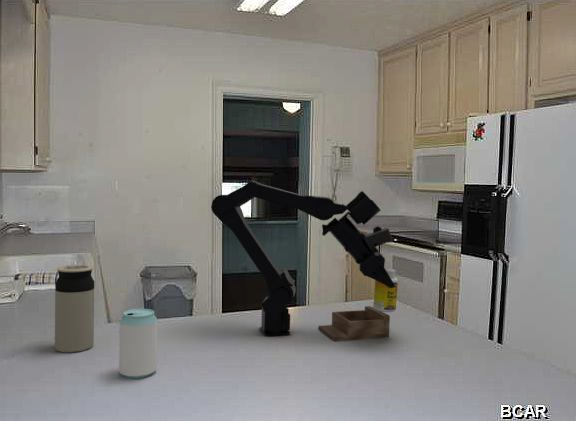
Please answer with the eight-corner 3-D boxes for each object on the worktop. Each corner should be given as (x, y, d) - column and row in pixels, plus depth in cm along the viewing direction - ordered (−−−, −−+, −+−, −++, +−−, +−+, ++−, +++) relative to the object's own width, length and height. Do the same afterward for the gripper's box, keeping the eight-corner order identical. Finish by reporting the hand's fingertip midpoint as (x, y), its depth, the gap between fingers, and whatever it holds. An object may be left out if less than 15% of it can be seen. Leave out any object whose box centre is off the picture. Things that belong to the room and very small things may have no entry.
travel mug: (101, 345, 113) (102, 266, 112) (72, 355, 105) (73, 271, 105) (75, 340, 116) (76, 263, 115) (46, 349, 109) (47, 268, 108)
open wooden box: (334, 341, 120) (335, 318, 120) (318, 329, 130) (319, 308, 130) (389, 337, 125) (389, 315, 125) (369, 326, 135) (370, 306, 135)
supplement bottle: (386, 314, 120) (389, 272, 119) (368, 309, 124) (371, 268, 124) (400, 311, 124) (403, 270, 123) (382, 306, 128) (385, 267, 127)
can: (136, 382, 92) (137, 318, 91) (111, 374, 96) (111, 312, 95) (164, 371, 98) (165, 311, 97) (139, 363, 102) (140, 305, 101)
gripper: (377, 218, 114) (423, 269, 113) (371, 214, 132) (410, 258, 132) (341, 249, 115) (386, 300, 114) (340, 241, 133) (378, 285, 133)
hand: (391, 284), depth 123 cm, fingers closed on supplement bottle, 6 cm apart
